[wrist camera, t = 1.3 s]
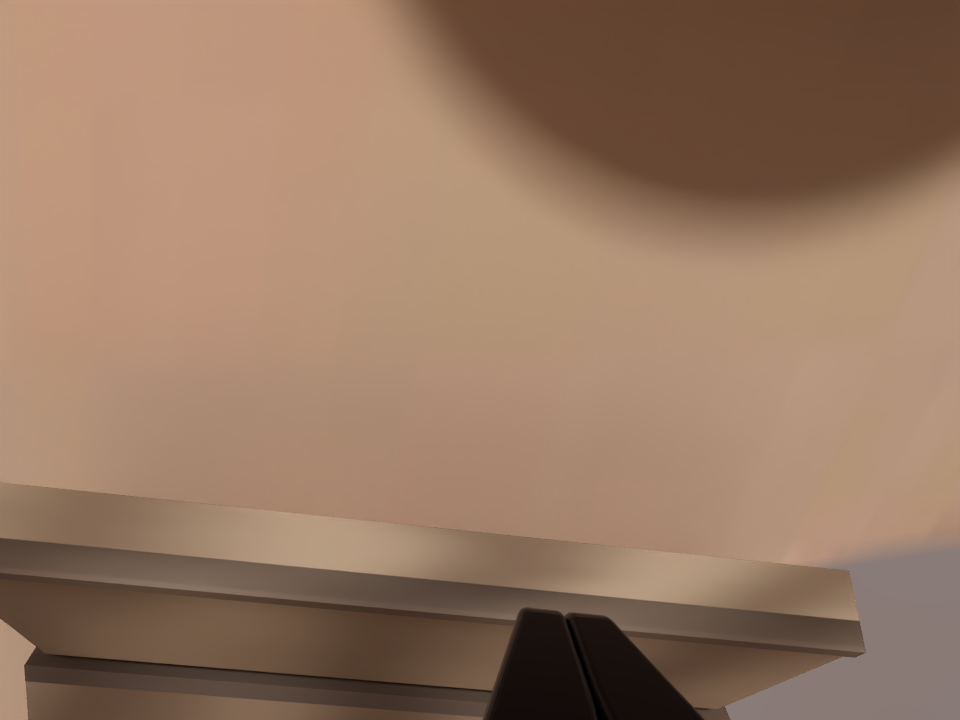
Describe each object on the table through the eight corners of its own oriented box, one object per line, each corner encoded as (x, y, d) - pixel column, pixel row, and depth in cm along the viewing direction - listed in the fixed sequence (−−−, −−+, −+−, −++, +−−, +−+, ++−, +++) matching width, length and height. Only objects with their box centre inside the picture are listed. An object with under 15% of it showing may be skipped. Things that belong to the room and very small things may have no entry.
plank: (849, 570, 16) (866, 652, 15) (711, 650, 22) (717, 713, 21) (-40, 478, 14) (-78, 565, 14) (65, 591, 20) (44, 658, 19)
